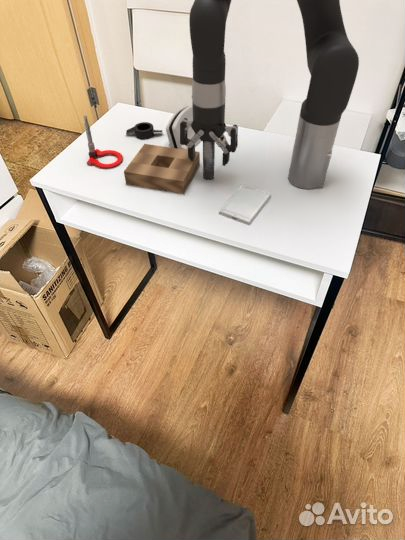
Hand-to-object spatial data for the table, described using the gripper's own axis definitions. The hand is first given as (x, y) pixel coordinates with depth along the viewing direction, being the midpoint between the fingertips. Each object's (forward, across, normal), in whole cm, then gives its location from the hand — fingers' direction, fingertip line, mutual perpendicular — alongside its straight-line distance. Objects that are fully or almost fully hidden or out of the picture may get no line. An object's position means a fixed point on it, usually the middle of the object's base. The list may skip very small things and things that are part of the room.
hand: (208, 161), depth 98 cm
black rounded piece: (+5, +25, -16) cm, 30 cm away
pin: (+5, 0, 0) cm, 5 cm away
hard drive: (+6, -12, +9) cm, 16 cm away
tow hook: (+5, +30, 0) cm, 30 cm away
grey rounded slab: (+5, +11, -17) cm, 21 cm away
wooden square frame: (+5, +12, +2) cm, 13 cm away
